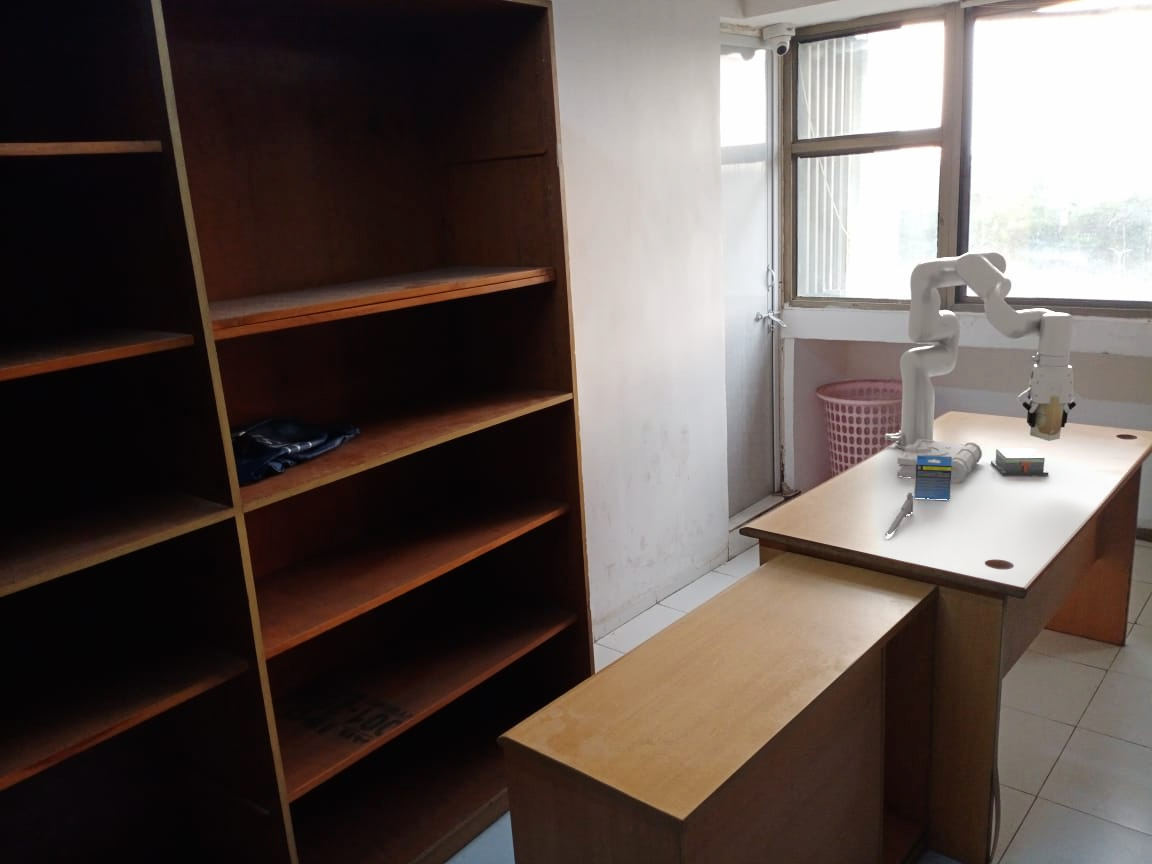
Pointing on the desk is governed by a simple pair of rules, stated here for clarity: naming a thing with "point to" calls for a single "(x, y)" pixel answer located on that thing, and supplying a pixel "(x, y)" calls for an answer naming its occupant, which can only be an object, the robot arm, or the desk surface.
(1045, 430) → the skincare box
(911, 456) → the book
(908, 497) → the caliper
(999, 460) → the grey piece
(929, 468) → the label tape box
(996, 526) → the desk surface
